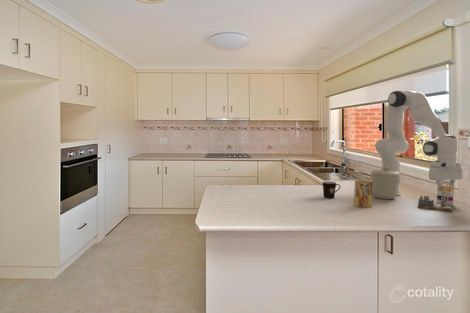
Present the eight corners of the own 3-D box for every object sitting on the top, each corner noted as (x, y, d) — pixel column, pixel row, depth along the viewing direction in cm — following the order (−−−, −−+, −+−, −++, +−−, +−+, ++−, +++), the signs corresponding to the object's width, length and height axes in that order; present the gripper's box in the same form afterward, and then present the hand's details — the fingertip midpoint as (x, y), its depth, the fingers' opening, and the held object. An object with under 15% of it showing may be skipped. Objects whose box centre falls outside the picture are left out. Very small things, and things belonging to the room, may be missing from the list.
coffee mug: (322, 198, 196) (322, 183, 195) (321, 195, 204) (322, 181, 204) (341, 199, 193) (341, 184, 192) (339, 196, 202) (340, 181, 201)
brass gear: (437, 191, 170) (437, 185, 170) (436, 189, 176) (437, 184, 176) (453, 192, 166) (453, 187, 166) (452, 190, 172) (452, 185, 172)
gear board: (418, 207, 174) (418, 196, 174) (418, 204, 183) (418, 193, 182) (452, 212, 166) (453, 200, 165) (450, 208, 175) (451, 197, 174)
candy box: (368, 205, 178) (370, 180, 177) (371, 207, 174) (372, 181, 173) (353, 205, 179) (354, 179, 177) (355, 207, 174) (357, 180, 173)
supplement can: (449, 203, 186) (451, 179, 185) (455, 206, 178) (457, 181, 177) (434, 202, 189) (436, 178, 187) (439, 205, 181) (441, 180, 179)
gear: (418, 204, 175) (419, 196, 175) (418, 202, 181) (418, 194, 181) (433, 206, 171) (434, 198, 171) (433, 203, 178) (433, 196, 177)
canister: (392, 195, 208) (394, 164, 206) (404, 201, 190) (406, 168, 188) (365, 194, 210) (367, 164, 208) (375, 200, 192) (376, 167, 190)
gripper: (455, 162, 176) (454, 186, 177) (427, 163, 170) (425, 187, 171) (466, 163, 169) (465, 188, 170) (437, 164, 164) (435, 189, 165)
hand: (445, 187), depth 171 cm, fingers closed on brass gear, 6 cm apart
